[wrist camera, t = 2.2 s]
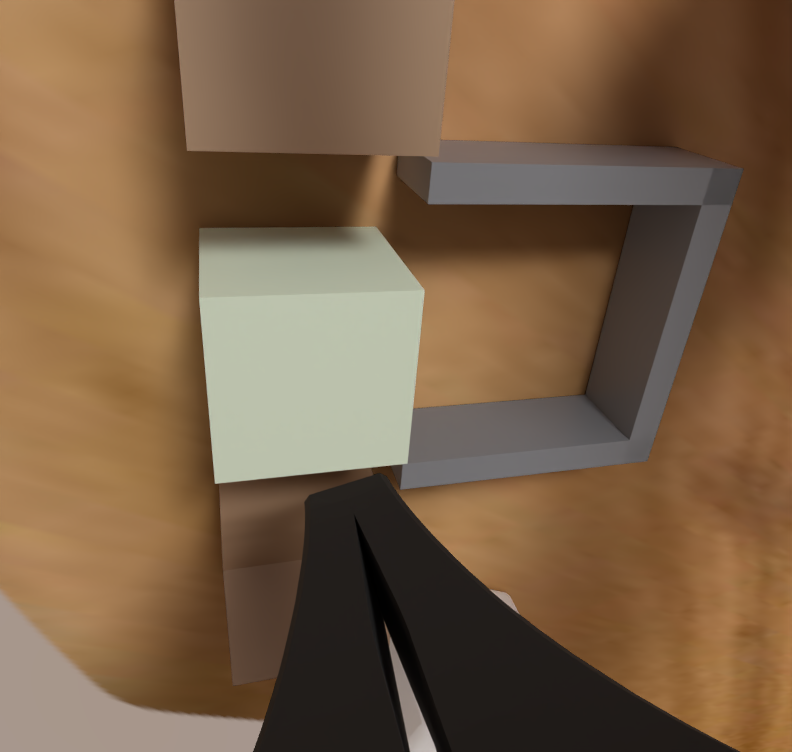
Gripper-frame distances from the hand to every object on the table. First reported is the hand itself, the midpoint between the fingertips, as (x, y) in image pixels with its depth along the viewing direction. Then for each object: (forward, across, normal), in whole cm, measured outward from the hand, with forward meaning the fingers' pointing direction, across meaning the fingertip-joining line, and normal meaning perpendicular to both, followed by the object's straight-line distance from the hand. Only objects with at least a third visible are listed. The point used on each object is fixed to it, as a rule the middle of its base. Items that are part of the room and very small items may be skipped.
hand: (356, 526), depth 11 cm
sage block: (+10, 0, 0) cm, 10 cm away
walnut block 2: (+10, +2, +8) cm, 13 cm away
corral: (+10, -7, +2) cm, 13 cm away
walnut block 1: (+10, -2, -7) cm, 13 cm away
